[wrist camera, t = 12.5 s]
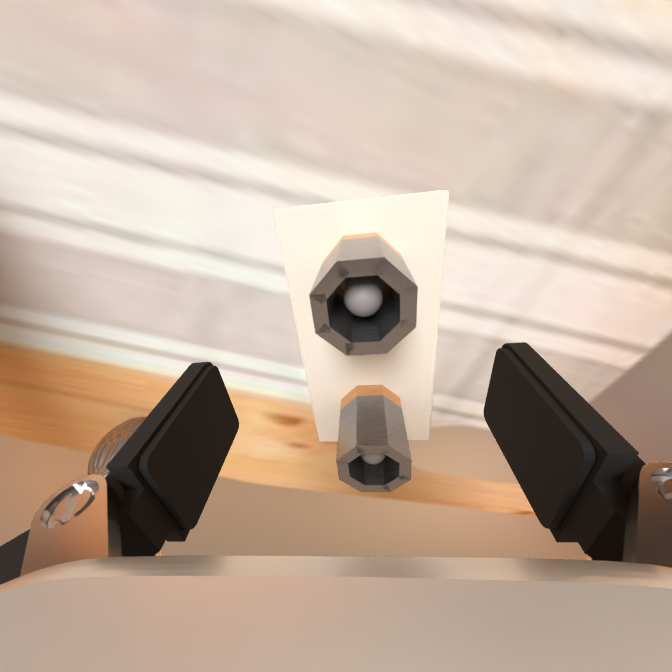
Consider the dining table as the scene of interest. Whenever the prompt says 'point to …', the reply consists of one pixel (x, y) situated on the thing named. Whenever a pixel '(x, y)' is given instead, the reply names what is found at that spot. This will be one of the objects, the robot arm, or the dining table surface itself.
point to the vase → (111, 446)
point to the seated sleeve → (372, 440)
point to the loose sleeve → (397, 306)
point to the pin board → (426, 270)
